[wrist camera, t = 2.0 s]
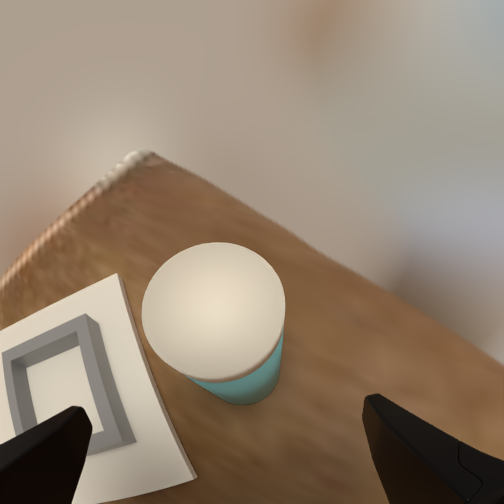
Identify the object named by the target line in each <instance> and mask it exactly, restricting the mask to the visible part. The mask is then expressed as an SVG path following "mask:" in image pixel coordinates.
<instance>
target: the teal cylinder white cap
mask: <svg viewBox="0 0 504 504" xmlns="http://www.w3.org/2000/svg"><path fill="white" fill-rule="evenodd" d="M284 317H285V296H284V291H283V288H282V285H281V282H280V280H279V278H278V276H277V274H276V272H275V271H274V270H273V268H272V267H271V266H270V265H269V264H268V262H267V261H266V260H264V259H263V258H262V257H261V256H260V255H258V254H256V253H255V252H253V251H251V250H249V249H247V248H245V247H242V246H239V245H235V244H230V243H206V244H201V245H197V246H193V247H191V248H188V249H186V250H184V251H182V252H179V253H178V254H176V255H175V256H173V257H172V258H170V259H169V260H168V261H167V262H165V263H164V264H163V265H162V266H161V267H160V268H159V270H158V271H157V272H156V273H155V275H154V276H153V278H152V279H151V281H150V283H149V285H148V287H147V289H146V292H145V295H144V298H143V304H142V324H143V328H144V332H145V335H146V337H147V340H148V342H149V343H150V345H151V347H152V348H153V350H154V351H155V352H156V354H157V355H158V356H159V357H160V358H161V359H162V360H163V361H164V362H166V363H167V364H169V365H170V366H172V367H173V368H174V369H176V370H177V371H179V372H180V373H182V374H183V375H185V376H186V377H188V378H189V379H191V380H192V381H194V382H195V383H197V384H199V385H200V386H202V387H203V388H205V389H206V390H208V391H210V392H211V393H213V394H214V395H216V396H218V397H219V398H221V399H223V400H224V401H226V402H229V403H232V404H236V405H249V404H253V403H256V402H259V401H260V400H262V399H264V398H265V397H267V396H268V395H269V394H270V393H271V392H272V390H273V389H274V387H275V386H276V384H277V381H278V378H279V372H280V362H281V352H282V340H283V329H284Z"/></svg>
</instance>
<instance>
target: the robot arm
mask: <svg viewBox="0 0 504 504" xmlns="http://www.w3.org/2000/svg"><path fill="white" fill-rule="evenodd" d="M362 420H363V424H364V428H365V432H366V436H367V440H368V443H369V447H370V451H371V455H372V459H373V462H374V465H375V467H376V470H377V472H378V475H379V477H380V480H381V483H382V485H383V488H384V490H385V493H386V495H387V498H388V500H389V503H390V504H504V461H503V460H501V459H498V458H495V457H493V456H490V455H488V454H486V453H483V452H481V451H479V450H477V449H475V448H473V447H471V446H469V445H467V444H465V443H463V442H462V441H459V440H458V439H456V438H454V437H452V436H450V435H449V434H447V433H445V432H443V431H442V430H440V429H438V428H436V427H434V426H433V425H431V424H429V423H428V422H426V421H424V420H422V419H421V418H419V417H417V416H415V415H414V414H412V413H410V412H409V411H407V410H405V409H404V408H402V407H400V406H399V405H397V404H395V403H394V402H392V401H390V400H389V399H387V398H385V397H384V396H382V395H380V394H372V395H368V396H366V397H365V400H364V407H363V414H362ZM92 430H93V427H92V423H91V421H90V419H89V417H88V415H87V413H86V411H85V409H84V408H83V407H81V406H70V407H69V408H67V409H65V410H63V411H61V412H60V413H58V414H56V415H54V416H52V417H51V418H49V419H47V420H45V421H43V422H42V423H40V424H38V425H36V426H34V427H32V428H31V429H29V430H27V431H25V432H23V433H21V434H19V435H17V436H16V437H14V438H12V439H10V440H8V441H6V442H4V443H2V444H0V504H72V501H73V498H74V495H75V492H76V489H77V485H78V482H79V479H80V476H81V474H82V471H83V467H84V464H85V460H86V456H87V452H88V447H89V443H90V439H91V435H92Z"/></svg>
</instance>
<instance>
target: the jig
mask: <svg viewBox="0 0 504 504" xmlns="http://www.w3.org/2000/svg"><path fill="white" fill-rule="evenodd" d="M70 406H81V407H83V408H84V409H85V411H86V413H87V415H88V417H89V419H90V421H91V423H92V427H93V430H92V435H91V439H90V443H89V447H88V452H87V456H86V460H85V464H84V467H83V471H82V474H81V476H80V479H79V482H78V485H77V489H76V492H75V495H74V498H73V501H72V504H97V503H103V502H109V501H114V500H119V499H124V498H128V497H133V496H137V495H141V494H145V493H149V492H153V491H157V490H161V489H164V488H168V487H171V486H175V485H178V484H181V483H184V482H187V481H191V480H194V479H196V478H197V475H196V473H195V471H194V469H193V467H192V465H191V463H190V461H189V459H188V457H187V455H186V453H185V450H184V448H183V446H182V444H181V442H180V440H179V438H178V435H177V433H176V431H175V429H174V427H173V424H172V422H171V420H170V417H169V415H168V413H167V410H166V408H165V406H164V403H163V401H162V398H161V396H160V393H159V391H158V388H157V386H156V383H155V380H154V378H153V375H152V372H151V370H150V367H149V364H148V361H147V359H146V356H145V353H144V350H143V347H142V344H141V341H140V338H139V335H138V332H137V329H136V326H135V322H134V319H133V316H132V313H131V309H130V306H129V303H128V299H127V296H126V292H125V288H124V285H123V281H122V279H121V277H120V276H119V275H118V274H117V273H116V274H114V275H112V276H110V277H108V278H105V279H103V280H101V281H99V282H97V283H95V284H93V285H91V286H89V287H87V288H85V289H83V290H80V291H78V292H76V293H74V294H72V295H70V296H68V297H66V298H64V299H62V300H60V301H58V302H56V303H54V304H52V305H50V306H48V307H46V308H44V309H42V310H40V311H38V312H36V313H34V314H32V315H30V316H28V317H26V318H25V319H23V320H21V321H19V322H17V323H15V324H13V325H11V326H9V327H7V328H5V329H3V330H2V331H0V444H2V443H4V442H6V441H8V440H10V439H12V438H14V437H16V436H17V435H19V434H21V433H23V432H25V431H27V430H29V429H31V428H32V427H34V426H36V425H38V424H40V423H42V422H43V421H45V420H47V419H49V418H51V417H52V416H54V415H56V414H58V413H60V412H61V411H63V410H65V409H67V408H69V407H70Z"/></svg>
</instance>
